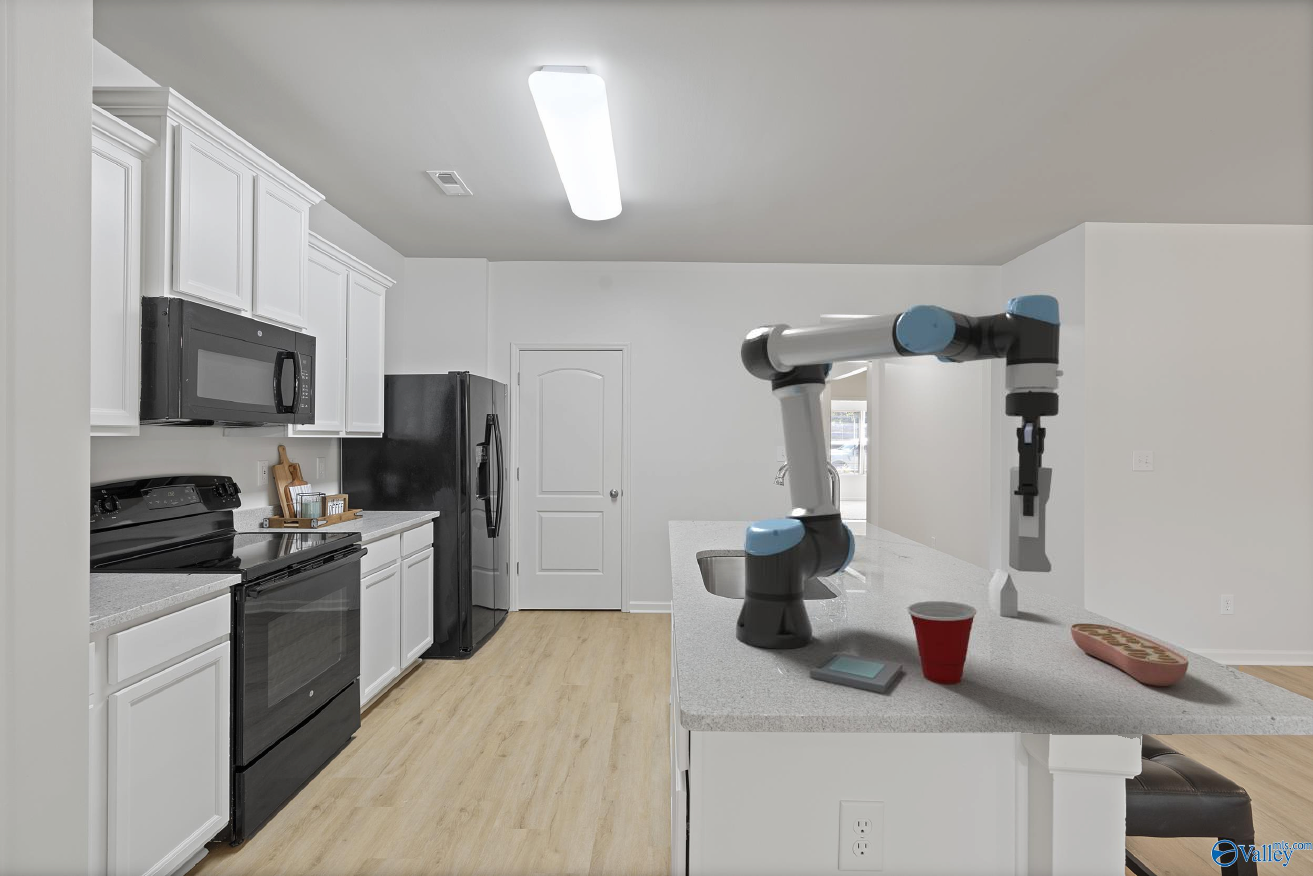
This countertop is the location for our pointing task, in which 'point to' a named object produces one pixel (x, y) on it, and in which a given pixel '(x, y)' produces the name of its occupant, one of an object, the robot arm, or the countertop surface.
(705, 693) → the countertop surface
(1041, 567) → the vintage mobile phone
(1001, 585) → the white house shaped block
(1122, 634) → the anatomical model
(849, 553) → the robot arm
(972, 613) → the plastic cup
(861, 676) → the pad
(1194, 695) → the countertop surface
